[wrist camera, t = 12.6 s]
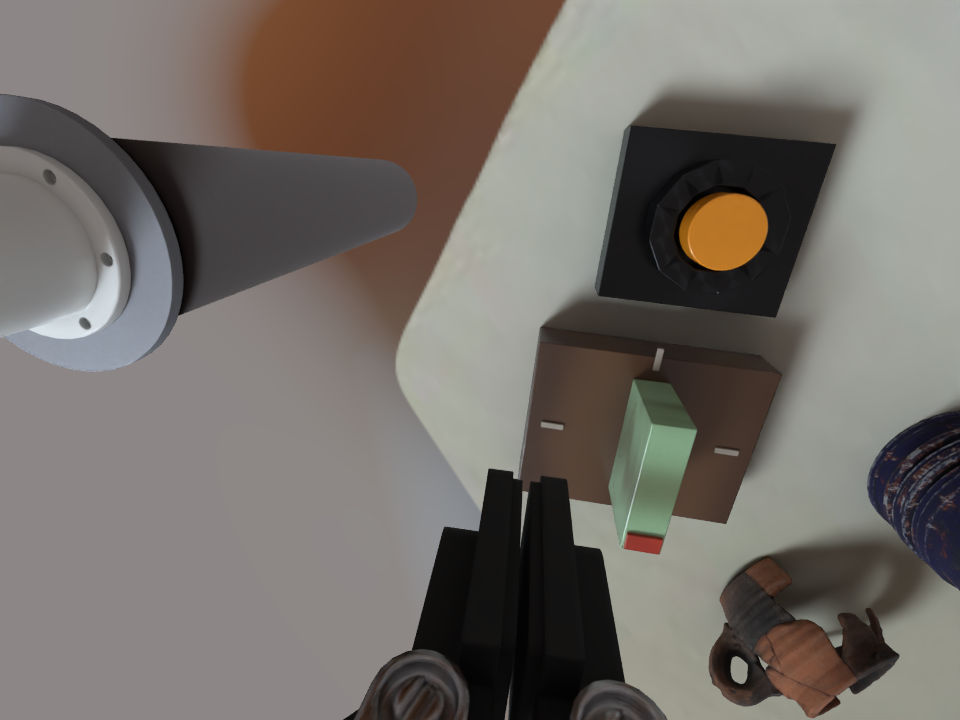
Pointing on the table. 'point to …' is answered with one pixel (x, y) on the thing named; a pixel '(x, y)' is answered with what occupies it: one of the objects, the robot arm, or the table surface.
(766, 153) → the button block
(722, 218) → the button
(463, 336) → the table surface
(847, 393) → the table surface
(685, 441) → the pale green flat block
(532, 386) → the base
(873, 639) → the pottery mug
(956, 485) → the storage jar
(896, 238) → the table surface
